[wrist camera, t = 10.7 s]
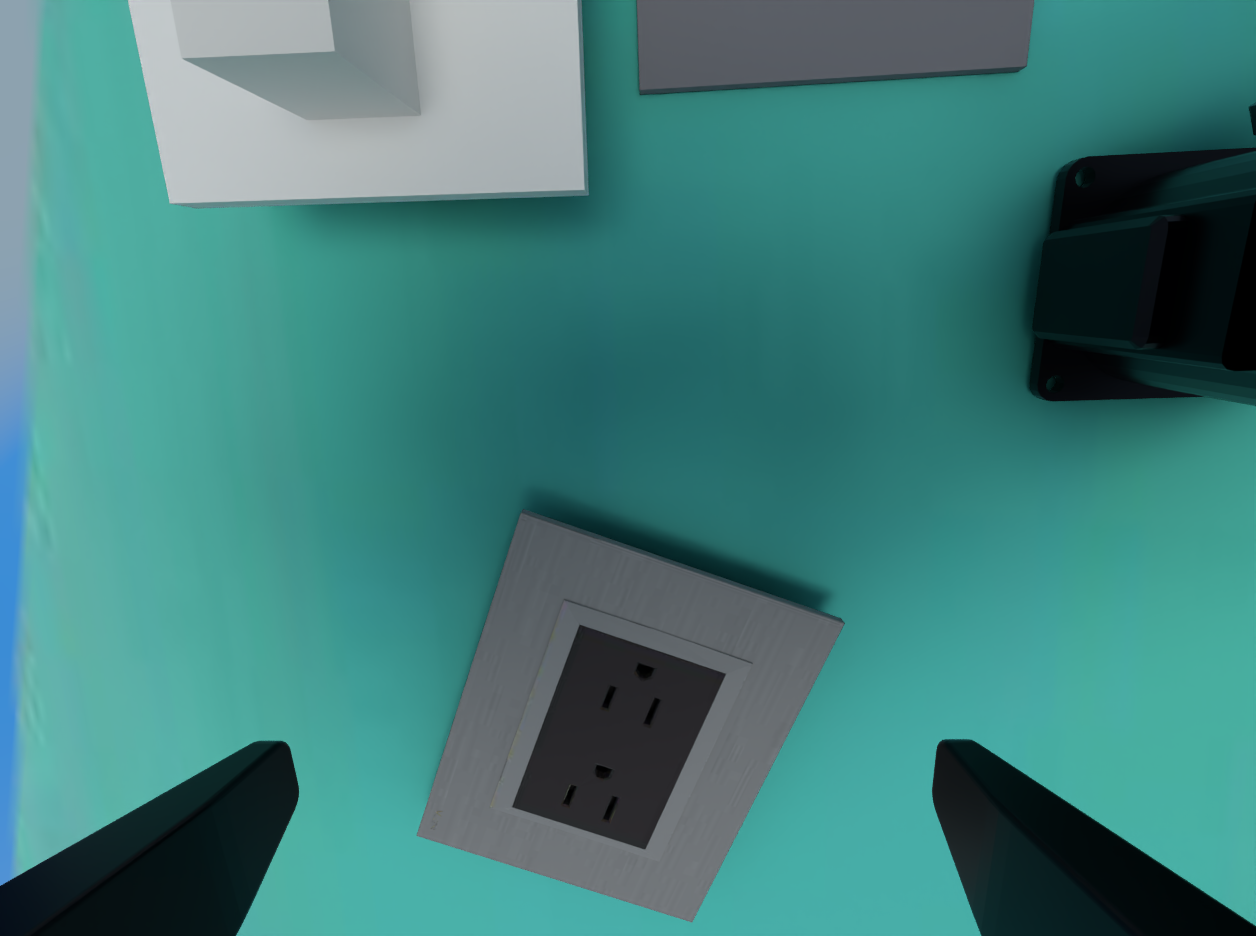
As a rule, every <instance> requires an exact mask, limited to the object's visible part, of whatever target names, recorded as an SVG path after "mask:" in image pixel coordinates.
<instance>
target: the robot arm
mask: <svg viewBox="0 0 1256 936" xmlns="http://www.w3.org/2000/svg"><path fill="white" fill-rule="evenodd" d="M1249 111H1250V117H1251V122H1252V128H1253V134H1254V135H1256V103H1254V104H1252V105H1250V106H1249ZM1079 170H1082V171H1083V172H1084V174H1085V178H1086V180H1085V182H1084V185H1083V186H1082V187H1079V186H1078V185H1077V184H1076V180H1075V177H1076V174H1077V172H1078V171H1079ZM1032 330H1033V332H1034V333H1035V334H1036V338H1035V346H1034V353H1033V361H1032V368H1031V375H1030V390H1031V392H1032V394H1033V395H1034V396H1036V397H1037V398H1040V399H1044V400H1048V401H1078V400H1110V399H1142V398H1175V397H1211V398H1216V399H1221V400H1227V401H1232V402H1237V403H1243V404H1248V405H1253V406H1256V148H1241V149H1222V150H1203V151H1184V152H1165V153H1146V154H1127V155H1108V156H1089V157H1085V158H1081V159H1078V160H1074V161H1071V162H1070V163H1068V164H1067V165H1065V166H1064V167H1063V168H1062V170H1061V171H1060V172H1059V175H1058V178H1057V181H1056V189H1055V196H1054V204H1053V211H1052V219H1051V226H1050V233H1049V237H1048V238H1047V239H1046V240H1045V241H1044V243H1043V250H1042V257H1041V265H1040V273H1039V280H1038V288H1037V295H1036V303H1035V311H1034V318H1033V326H1032ZM1052 376H1055V377H1056V384H1055V386H1054V387H1053V388H1052V389H1051V390H1047V388H1046V383H1047V381H1048V379H1050V378H1051V377H1052ZM298 797H299V786H298V781H297V777H296V772H295V768H294V763H293V759H292V754H291V750H290V747H289V746H288V744H287V743H286V742H283V741H256V742H253V743H251V744H250V745H248V746H246V747H244V748H242V749H241V750H239V751H237V752H235V753H234V754H232V755H230V756H228V757H227V758H225V759H223V760H221V761H220V762H218V763H216V764H214V765H213V766H211V767H209V768H207V769H205V770H204V771H202V772H200V773H198V774H197V775H195V776H193V777H191V778H190V779H188V780H186V781H184V782H183V783H181V784H179V785H177V786H176V787H174V788H172V789H170V790H168V791H167V792H165V793H163V794H161V795H160V796H158V797H156V798H154V799H153V800H151V801H149V802H147V803H146V804H144V805H142V806H140V807H139V808H137V809H135V810H133V811H131V812H130V813H128V814H126V815H124V816H123V817H121V818H119V819H117V820H116V821H114V822H112V823H110V824H109V825H107V826H105V827H103V828H101V829H100V830H98V831H96V832H94V833H93V834H91V835H89V836H87V837H86V838H84V839H82V840H80V841H79V842H77V843H75V844H73V845H72V846H70V847H68V848H66V849H64V850H63V851H61V852H59V853H57V854H56V855H54V856H52V857H50V858H49V859H47V860H45V861H43V862H42V863H40V864H38V865H36V866H35V867H33V868H31V869H29V870H27V871H26V872H24V873H22V874H20V875H19V876H17V877H15V878H13V879H12V880H10V881H8V882H6V883H5V884H3V885H1V886H0V936H236V935H237V933H238V931H239V929H240V927H241V925H242V923H243V921H244V919H245V917H246V915H247V913H248V911H249V909H250V907H251V905H252V903H253V901H254V899H255V896H256V894H257V892H258V890H259V888H260V885H261V883H262V881H263V879H264V876H265V874H266V872H267V870H268V868H269V865H270V863H271V861H272V859H273V857H274V854H275V852H276V850H277V848H278V846H279V843H280V841H281V839H282V837H283V835H284V832H285V830H286V828H287V826H288V824H289V821H290V819H291V817H292V815H293V813H294V810H295V808H296V805H297V802H298ZM932 797H933V803H934V807H935V810H936V813H937V816H938V819H939V822H940V824H941V827H942V830H943V833H944V835H945V838H946V841H947V844H948V846H949V849H950V852H951V855H952V857H953V860H954V863H955V866H956V869H957V871H958V874H959V877H960V880H961V882H962V885H963V888H964V891H965V893H966V896H967V899H968V902H969V904H970V907H971V910H972V913H973V915H974V918H975V920H976V923H977V926H978V928H979V931H980V933H981V936H1256V926H1255V925H1253V924H1252V923H1250V922H1249V921H1247V920H1246V919H1244V918H1243V917H1241V916H1240V915H1238V914H1237V913H1235V912H1234V911H1232V910H1231V909H1229V908H1228V907H1226V906H1225V905H1223V904H1222V903H1220V902H1218V901H1217V900H1215V899H1214V898H1212V897H1211V896H1209V895H1208V894H1206V893H1205V892H1203V891H1202V890H1200V889H1199V888H1197V887H1196V886H1194V885H1193V884H1191V883H1190V882H1188V881H1187V880H1185V879H1184V878H1182V877H1181V876H1179V875H1177V874H1176V873H1174V872H1173V871H1171V870H1170V869H1168V868H1167V867H1165V866H1164V865H1162V864H1161V863H1159V862H1158V861H1156V860H1155V859H1153V858H1152V857H1150V856H1149V855H1147V854H1146V853H1144V852H1143V851H1141V850H1139V849H1138V848H1136V847H1135V846H1133V845H1132V844H1130V843H1129V842H1127V841H1126V840H1124V839H1123V838H1121V837H1120V836H1118V835H1117V834H1115V833H1114V832H1112V831H1111V830H1109V829H1108V828H1106V827H1105V826H1103V825H1102V824H1100V823H1098V822H1097V821H1095V820H1094V819H1092V818H1091V817H1089V816H1088V815H1086V814H1085V813H1083V812H1082V811H1080V810H1079V809H1077V808H1076V807H1074V806H1073V805H1071V804H1070V803H1068V802H1067V801H1065V800H1064V799H1062V798H1061V797H1059V796H1057V795H1056V794H1054V793H1053V792H1051V791H1050V790H1048V789H1047V788H1045V787H1044V786H1042V785H1041V784H1039V783H1038V782H1036V781H1035V780H1033V779H1032V778H1030V777H1029V776H1027V775H1026V774H1024V773H1023V772H1021V771H1019V770H1018V769H1016V768H1015V767H1013V766H1012V765H1010V764H1009V763H1007V762H1006V761H1004V760H1003V759H1001V758H1000V757H998V756H997V755H995V754H994V753H992V752H991V751H989V750H988V749H986V748H985V747H983V746H982V745H980V744H978V743H977V742H975V741H973V740H969V739H945V740H942V741H940V742H939V744H938V746H937V750H936V759H935V768H934V777H933V786H932Z"/></svg>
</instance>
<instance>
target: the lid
mask: <svg viewBox="0 0 1256 936" xmlns="http://www.w3.org/2000/svg"><path fill="white" fill-rule="evenodd" d="M128 3H129V7H130V12H131V17H132V22H133V27H134V32H135V36H136V41H137V46H138V51H139V56H140V61H141V65H142V70H143V75H144V80H145V85H146V90H147V94H148V99H149V104H150V109H151V114H152V119H153V123H154V128H155V133H156V138H157V143H158V148H159V152H160V157H161V162H162V167H163V172H164V177H165V181H166V186H167V191H168V196H169V201H170V204H175V205H181V206H186V207H192V208H224V207H255V206H285V205H316V204H346V203H377V202H407V201H438V200H468V199H499V198H529V197H559V196H589V187H588V160H587V133H586V107H585V80H584V53H583V26H582V0H128Z"/></svg>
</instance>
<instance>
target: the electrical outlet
mask: <svg viewBox="0 0 1256 936" xmlns="http://www.w3.org/2000/svg"><path fill="white" fill-rule="evenodd" d="M844 624H845V623H844V622H843V620H842V619H841V618H838V617H835V616H832V615H830V614H827V613H824V612H821V611H818V610H815V609H812V608H809V607H806V606H803V605H801V604H798V603H795V602H792V601H789V600H786V599H783V598H780V597H777V596H774V595H772V594H769V593H766V592H763V591H760V590H757V589H754V588H751V587H748V586H745V585H743V584H740V583H737V582H734V581H731V580H728V579H725V578H722V577H719V576H716V575H713V574H711V573H708V572H705V571H702V570H699V569H696V568H693V567H690V566H687V565H684V564H682V563H679V562H676V561H673V560H670V559H667V558H664V557H661V556H658V555H655V554H653V553H650V552H647V551H644V550H641V549H638V548H635V547H632V546H629V545H626V544H624V543H621V542H618V541H615V540H612V539H609V538H606V537H603V536H600V535H597V534H595V533H592V532H589V531H586V530H583V529H580V528H577V527H574V526H571V525H568V524H566V523H563V522H560V521H557V520H554V519H551V518H548V517H545V516H542V515H539V514H536V513H534V512H531V511H528V510H525V509H523V510H522V512H521V514H520V517H519V520H518V523H517V526H516V529H515V532H514V535H513V539H512V542H511V545H510V548H509V551H508V554H507V557H506V560H505V563H504V566H503V569H502V573H501V576H500V579H499V582H498V585H497V588H496V591H495V594H494V597H493V600H492V604H491V607H490V610H489V613H488V616H487V619H486V622H485V625H484V628H483V631H482V635H481V638H480V641H479V644H478V647H477V650H476V653H475V656H474V659H473V662H472V666H471V669H470V672H469V675H468V678H467V681H466V684H465V687H464V690H463V693H462V697H461V700H460V703H459V706H458V709H457V712H456V715H455V718H454V721H453V724H452V728H451V731H450V734H449V737H448V740H447V743H446V746H445V749H444V752H443V755H442V759H441V762H440V765H439V768H438V771H437V774H436V777H435V780H434V783H433V786H432V790H431V793H430V796H429V799H428V802H427V805H426V808H425V811H424V814H423V817H422V820H421V824H420V827H419V830H418V833H417V836H419V837H422V838H426V839H429V840H432V841H435V842H438V843H442V844H445V845H448V846H451V847H454V848H457V849H461V850H464V851H467V852H470V853H473V854H477V855H480V856H483V857H486V858H489V859H492V860H496V861H499V862H502V863H505V864H508V865H511V866H515V867H518V868H521V869H524V870H527V871H531V872H534V873H537V874H540V875H543V876H546V877H550V878H553V879H556V880H559V881H562V882H565V883H569V884H572V885H575V886H578V887H581V888H585V889H588V890H591V891H594V892H597V893H600V894H604V895H607V896H610V897H613V898H616V899H619V900H623V901H626V902H629V903H632V904H635V905H639V906H642V907H645V908H648V909H651V910H654V911H658V912H661V913H664V914H667V915H670V916H674V917H677V918H680V919H683V920H686V921H689V922H693V920H694V918H695V916H696V914H697V912H698V910H699V908H700V906H701V904H702V902H703V900H704V898H705V896H706V894H707V892H708V890H709V888H710V886H711V884H712V882H713V880H714V878H715V876H716V875H717V873H718V871H719V869H720V867H721V865H722V863H723V861H724V859H725V857H726V855H727V853H728V851H729V849H730V847H731V845H732V843H733V841H734V839H735V837H736V835H737V833H738V831H739V829H740V827H741V826H742V824H743V822H744V820H745V818H746V816H747V814H748V812H749V810H750V808H751V806H752V804H753V802H754V800H755V798H756V796H757V794H758V792H759V790H760V788H761V786H762V784H763V782H764V780H765V778H766V777H767V775H768V773H769V771H770V769H771V767H772V765H773V763H774V761H775V759H776V757H777V755H778V753H779V751H780V749H781V747H782V745H783V743H784V741H785V739H786V737H787V735H788V733H789V731H790V729H791V728H792V726H793V724H794V722H795V720H796V718H797V716H798V714H799V712H800V710H801V708H802V706H803V704H804V702H805V700H806V698H807V696H808V694H809V692H810V690H811V688H812V686H813V684H814V682H815V680H816V679H817V677H818V675H819V673H820V671H821V669H822V667H823V665H824V663H825V661H826V659H827V657H828V655H829V653H830V651H831V649H832V647H833V645H834V643H835V641H836V639H837V637H838V635H839V633H840V631H841V630H842V628H843V626H844Z"/></svg>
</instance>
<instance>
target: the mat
mask: <svg viewBox="0 0 1256 936" xmlns="http://www.w3.org/2000/svg"><path fill="white" fill-rule="evenodd" d="M1033 7H1034V0H637V21H638V53H639V84H640V95H641V94H658V93H674V92H691V91H707V90H724V89H740V88H756V87H773V86H789V85H806V84H822V83H839V82H855V81H872V80H888V79H905V78H921V77H938V76H954V75H970V74H987V73H1003V72H1018V71H1020V70H1021V69H1023V68H1025V67H1026V66H1027V58H1028V50H1029V41H1030V33H1031V24H1032V15H1033Z"/></svg>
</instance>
